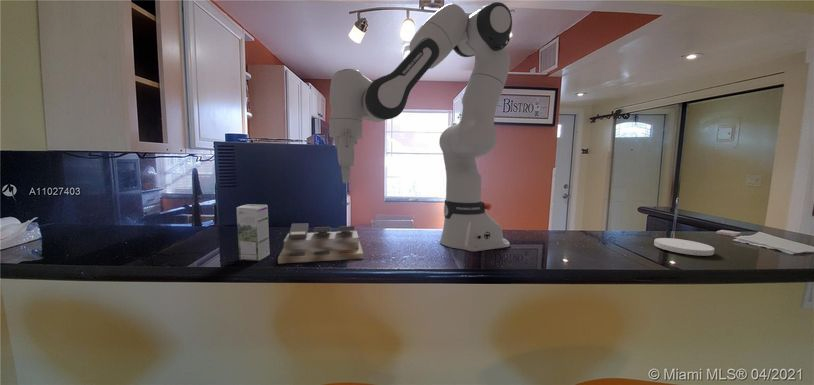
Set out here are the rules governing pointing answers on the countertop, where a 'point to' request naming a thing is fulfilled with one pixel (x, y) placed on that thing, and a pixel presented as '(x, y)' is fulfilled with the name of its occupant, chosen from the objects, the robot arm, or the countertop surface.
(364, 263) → the countertop surface
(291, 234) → the switch
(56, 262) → the countertop surface
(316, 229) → the switch middle
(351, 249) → the switch unit
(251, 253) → the syrup box
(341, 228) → the switch
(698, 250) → the plastic lid
